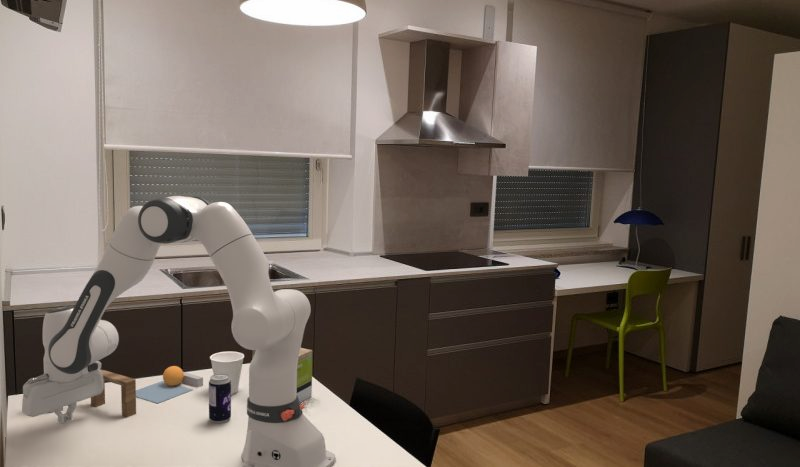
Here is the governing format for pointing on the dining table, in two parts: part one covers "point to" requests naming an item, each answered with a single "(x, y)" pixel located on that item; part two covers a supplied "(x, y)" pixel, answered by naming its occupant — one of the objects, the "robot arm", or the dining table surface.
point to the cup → (228, 366)
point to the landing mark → (160, 392)
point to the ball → (173, 376)
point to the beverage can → (219, 398)
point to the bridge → (126, 392)
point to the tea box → (303, 374)
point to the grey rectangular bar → (192, 380)
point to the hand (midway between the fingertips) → (65, 421)
